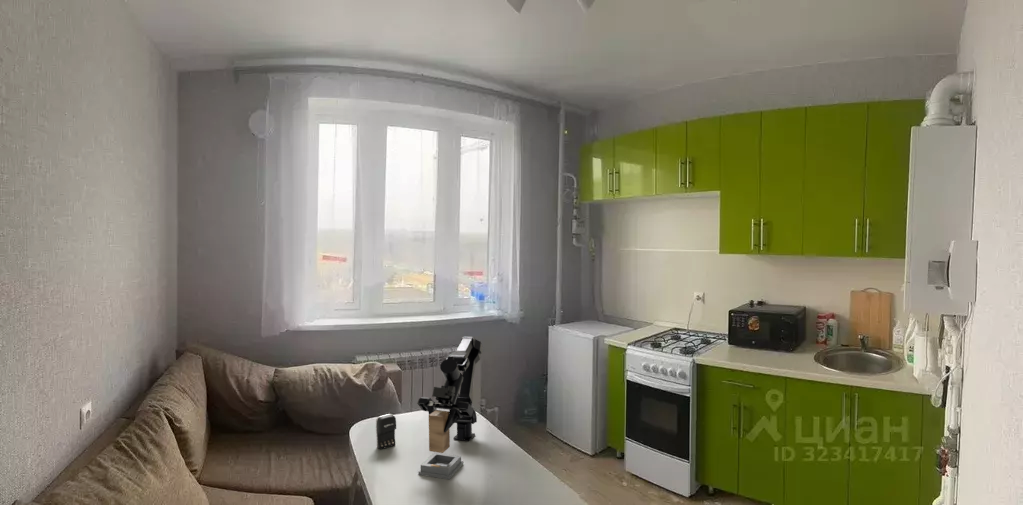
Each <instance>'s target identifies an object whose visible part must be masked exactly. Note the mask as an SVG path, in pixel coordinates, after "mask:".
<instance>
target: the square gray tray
mask: <svg viewBox="0 0 1023 505" xmlns="http://www.w3.org/2000/svg"><path fill="white" fill-rule="evenodd" d="M463 465H464V460H463V461H462V455H457V454H451V453H445V452H444V453H439V452H433V453H432V454H431V455H430V456H428V457H427V459H425V460H424V461H423V462H422V463H421V464H420V469H419V470H417V471H418V472H417V473H418V474H417V475H419V476H424V477H425V476H426V477H431V478H439V479H445V480H451V478H452V477H453V476H455V474H456V473H457V472H458V470H459V469H461V467H462V466H463Z"/></svg>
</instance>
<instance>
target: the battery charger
mask: <svg viewBox="0 0 1023 505" xmlns="http://www.w3.org/2000/svg"><path fill="white" fill-rule="evenodd" d="M396 429H397V419H396V416H395V415H394V414H392V413H388V414H387V413H386V414H383V415H380V416H378V417H377V418H376V419H375V435H376V436H375V437H376V448H378V449H380V450H381V449H387V448H391V447H393V446H395V445H396V434H395V433H396Z"/></svg>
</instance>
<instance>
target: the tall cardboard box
mask: <svg viewBox="0 0 1023 505" xmlns="http://www.w3.org/2000/svg"><path fill="white" fill-rule="evenodd" d="M448 416H449V410H448V411H446V410H442V409H439V410H438V409H437V410H435V411H434V412H432V413H431V414H430V415H429V414H428V450H429V452H433V453H434V452H438V453H444V454H445V453H446V451H447V450H448V449H449V448H450V445H451V444H450V442H451V441H450V440H451V439H450V438H451V437H450V432H451V431H450V428H449V429H448V431H447V432H444V428H445V425H446V422H447V419H448Z"/></svg>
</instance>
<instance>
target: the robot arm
mask: <svg viewBox="0 0 1023 505" xmlns="http://www.w3.org/2000/svg"><path fill="white" fill-rule="evenodd" d="M483 352H484V347H483V344H482V342H481V340H480V341H479V339H476V338H475V336H462V337H461V339H460V343H459V345H458V347H457V349H456V350H455V351H453V352H451V353H450V354H449V355H448V356H447V357H446V359H444V360H443V361H442V362H441V364H440V365H439V368H440V371H441V373H442V376H443V378H444V384H443V385H441V386H440V387H438V386H434V387H433V389H432V390H433V391H432V396H431V397H433V398H435V401H434V400H432V398H431V397H427V396H420V397H419V398H418V401H417V403H416V404H417V406H419V408H420V409H421V410H422V411H423V412H428V416H429V415H430V414H431V413H432V412H434V411H435V410H438V409H439V410H448V411H449V416H448V419H447V422H446V425H445V428H444V432H447V431H448V429H449V430H450V428H452V426H453V425H454V424H456V435H455V436H453V440H456V441H465V442H470V441H471V440H472V439H473V437H474V436H476V433H473V428H472V426H473V425H474V424H475V423H477V422H478V417H477V413H476V409H475V406H474V403H473V401H472V391H473V383H474V377H475V372H476V371H475V370H476V364H477V363H478V362H479V361H480V360H481V357H482V356H481V355H483Z"/></svg>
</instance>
